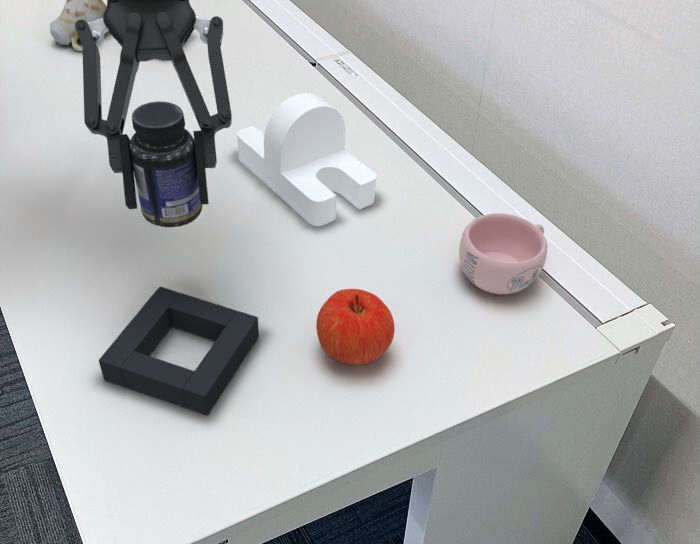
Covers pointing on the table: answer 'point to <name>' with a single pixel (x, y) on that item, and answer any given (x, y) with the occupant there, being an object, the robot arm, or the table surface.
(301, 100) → the bracket
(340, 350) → the apple
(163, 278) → the table surface
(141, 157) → the pill bottle
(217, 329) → the socket pad
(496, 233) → the mug
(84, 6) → the mug
